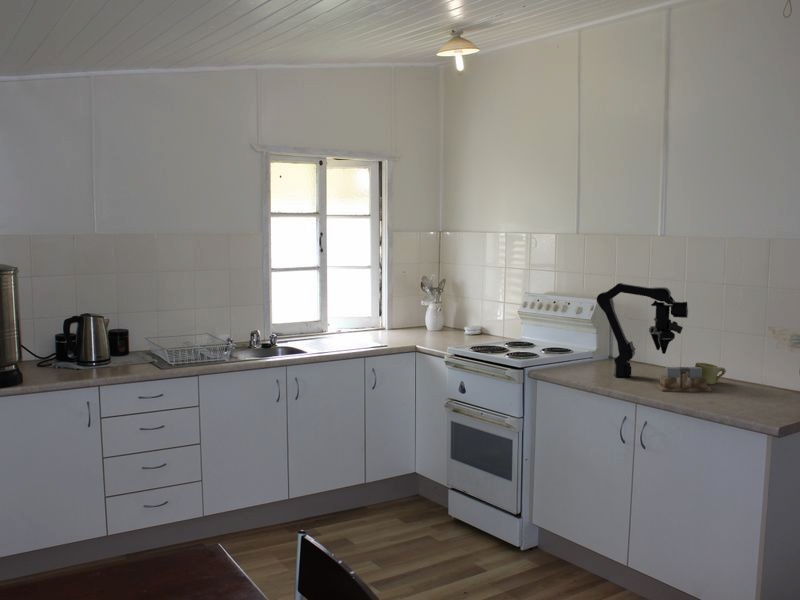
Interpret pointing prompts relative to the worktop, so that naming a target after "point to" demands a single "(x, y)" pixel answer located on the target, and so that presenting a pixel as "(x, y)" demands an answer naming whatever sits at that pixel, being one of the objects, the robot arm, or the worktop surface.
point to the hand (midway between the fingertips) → (660, 351)
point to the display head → (683, 384)
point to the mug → (711, 372)
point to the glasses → (675, 371)
